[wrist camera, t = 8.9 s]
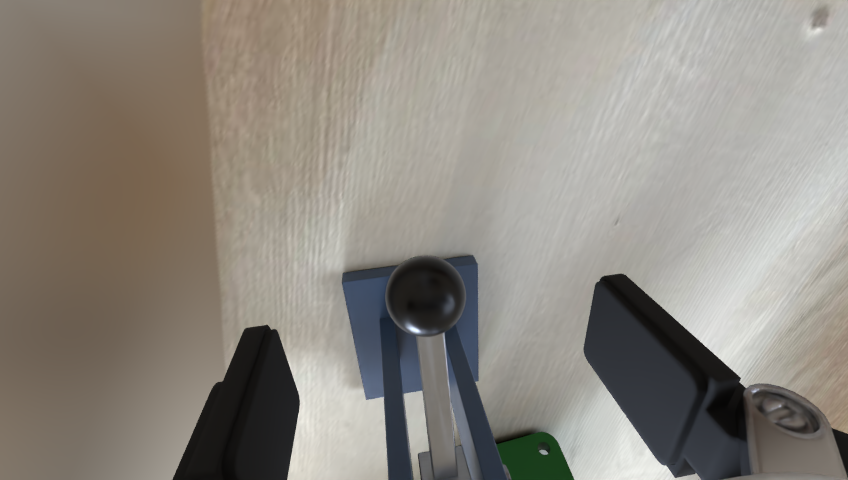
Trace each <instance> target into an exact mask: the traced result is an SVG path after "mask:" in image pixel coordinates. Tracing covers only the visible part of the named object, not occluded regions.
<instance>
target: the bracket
mask: <svg viewBox="0 0 848 480" xmlns="http://www.w3.org/2000/svg"><path fill="white" fill-rule="evenodd" d="M443 260H445V261H447V262H448V263H450V264H451V265H452V266H453V267H454V268H455V269H456V270H457V271H458V273H459V274H460V276H461V278H462V280H463V282H464V286H465V291H466V302H465V307H464V310H463V313H462V315H461V317H460V318H459V320H458V321H457V322H456V324H455V325H454V326H453V327H452V328H450V329H449V330H448V331H446V332H444V335H445V345H446V355H447V366H448V376H449V387H450V397H451V404H452V408H453V412H454V416H455V420H456V424H457V428H458V432H459V436H460V440H461V444H462V447H463V451H464V454H465V458H466V461H467V465H468V468H469V472H470V475H471V479H472V480H511V477H510V474H509V471H508V469H507V467H506V465H504V464H502V461H501V458H500V455H499V452H498V449H497V446H496V443H495V440H494V437H493V434H492V431H491V428H490V425H489V422H488V419H487V416H486V413H485V410H484V407H483V404H482V401H481V398H480V395H479V392H478V389H477V386H476V383H475V382H476V381H478V264H477V262H476V260H475V258H474V256H473V255H472V256H465V257H457V258H450V259H443ZM398 266H399V265H398ZM398 266H391V267H383V268H376V269H368V270H361V271H354V272H346V273H343V277H342V285H343V290H344V295H345V300H346V305H347V309H348V314H349V319H350V324H351V329H352V334H353V339H354V343H355V348H356V353H357V358H358V363H359V368H360V373H361V377H362V382H363V387H364V392H365V397H366V400H368V399H374V398H380V397H384V409H385V427H386V444H387V462H388V480H413V471H412V462H411V453H410V445H409V436H408V427H407V419H406V410H405V401H404V393H410V392H416V391H422V383H421V374H420V366H419V357H418V349H417V340H416V336H415V335H411V334H409V333H407V332H405V331H404V330H402V329H401V328H400V327H398V326H397V324H396V323H395V322H394V321H393V320H392V318H391V316H390V314H389V312H388V310H387V306H386V301H385V293H386V286H387V283H388V280H389V278H390V276H391V275H392V273H393V272H394V270H395V269H396V268H397V267H398Z"/></svg>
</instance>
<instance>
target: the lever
mask: <svg viewBox="0 0 848 480" xmlns="http://www.w3.org/2000/svg"><path fill="white" fill-rule="evenodd" d="M385 301H386V306H387V310H388V312H389V314H390V316H391V318H392V320H393V321H394V322H395V323H396V324H397V326H398V327H400V328H401V329H402V330H404V331H405V332H407V333H409V334H411V335H415V336H416V340H417V349H418V357H419V366H420V374H421V383H422V391H423V400H424V408H425V417H426V425H427V433H428V442H429V450H430V451H428V452H423V453H418V459H419V467H420V475H421V480H472V479H471V475H470V472H469V468H468V465H467V461H466V458H465V454H464V451H463V447H462V446H455V439H454V428H453V418H452V407H451V397H450V387H449V376H448V366H447V355H446V345H445V335H444V332H446V331H448V330H449V329H450V328H452V327H453V326H454V325H455V324H456V322H457V321H458V320H459V318H460V317H461V315H462V313H463V310H464V307H465V302H466V291H465V286H464V282H463V280H462V278H461V276H460V274H459V273H458V271H457V270H456V269H455V268H454V267H453V266H452V265H451V264H450V263H448V262H447V261H445V260H443V259H441V258H438V257H434V256H417V257H413V258H410V259H408V260H406V261H405V262H403V263H402V264H400V265H399V266H398V267H397V268H396V269H395V270H394V272H393V273H392V275H391V276H390V278H389V280H388V283H387V286H386V293H385Z"/></svg>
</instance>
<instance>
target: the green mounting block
mask: <svg viewBox="0 0 848 480" xmlns="http://www.w3.org/2000/svg"><path fill="white" fill-rule="evenodd" d="M496 446H497V449H498V452H499V455H500V458H501V461H502V464H504V465H506V467H507V469H508V471H509V474H510V477H511V480H574V478H573V476H572V473H571V471H570V469H569V467H568V464H567V462H566V460H565V457H564V455H563V453H562V451H561V448H560V446H559V444H558V442H557V440H556V439H555V438H554V437H553V436H552V435H550V434H548V433H545V432H538V433H535V434H531V435H528V436H524V437H521V438H517V439H514V440H510V441H507V442H503V443H500V444H497V445H496ZM539 450H546V451H547V452H548V454H547V455H543V454H541V453H540V452H539Z"/></svg>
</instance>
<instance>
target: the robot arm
mask: <svg viewBox="0 0 848 480" xmlns="http://www.w3.org/2000/svg"><path fill="white" fill-rule="evenodd" d="M584 354H585V357H586V359H587V361H588V362H589V364H590V365H591V366H592V368H593V369H594V371H595V372H596V374H597V375H598V376H599V378H600V379H601V381H602V382H603V384H604V385H605V386H606V388H607V389H608V391H609V392H610V394H611V395H612V396H613V398H614V399H615V401H616V402H617V403H618V405H619V406H620V408H621V409H622V411H623V412H624V413H625V415H626V416H627V418H628V419H629V421H630V422H631V423H632V425H633V426H634V428H635V429H636V431H637V432H638V433H639V435H640V436H641V438H642V439H643V441H644V442H645V443H646V445H647V446H648V448H649V449H650V451H651V452H652V453H653V455H654V456H655V458H656V459H657V460H658V461H659V462H660V463H661V464H662V465H666V466H667V467H668V468H669V470H670V471H671V473H672V474H673V475H674V477H675V478H677V477H682V476H687V475H692V474H695V473H697V474H698V476H699V477H700V478H701V480H848V434H846V433H844V432H841V431H838V430H836V429H833V428H831V426H830V423H829V422H828V420H827V418H826V416H825V415H824V414H823V413H822V412H821V411H820V410H819V409H818V408H817V406H815V405H814V404H812V403H811V402H810V401H808V400H807V399H806V398H804V397H802V396H800V395H799V394H797V393H795V392H793V391H790V390H788V389H785V388H783V387H780V386H776V385H771V384H754V385H750V386H749V387H748V388H745V387H744V386H743V385H742V384H741V383H740V382H739V381H740V379H741V378H740V377H739V376H738V375H737V374H736V373H735V372H733V371H732V370H731V369H730V368H729V367H728V366H727V365H726V364H724V363H723V362H722V361H721V360H720V359H719V358H718V357H717V356H715V355H714V354H713V353H712V352H711V351H710V350H709V349H708V348H707V347H705V346H704V345H703V344H702V343H701V342H700V341H699V340H698V339H696V338H695V337H694V336H693V335H692V334H691V333H690V332H689V331H687V330H686V329H685V328H684V327H683V326H682V325H681V324H680V323H679V322H677V321H676V320H675V319H674V318H673V317H672V316H671V315H670V314H668V313H667V312H666V311H665V310H664V309H663V308H662V307H661V306H660V305H658V304H657V303H656V302H655V301H654V300H653V299H652V298H651V297H649V296H648V295H647V294H646V293H645V292H644V291H643V290H642V289H640V288H639V287H638V286H637V285H636V284H635V283H634V282H633V281H632V280H630V279H629V278H628V277H627V276H626V275H624V274H615V275H608V276H603V277H602V278H601V279H600V281H599V282H597V283H596V285H595V289H594V294H593V300H592V305H591V310H590V316H589V321H588V327H587V332H586V338H585V343H584ZM299 406H300V400H299V394H298V391H297V388H296V385H295V382H294V379H293V376H292V373H291V370H290V367H289V364H288V361H287V358H286V355H285V352H284V349H283V346H282V343H281V340H280V337H279V334H278V332H277V330H276V329H273V330H271V329H270V327H269V326H268V325H264V326H257V327H250V328H246V329H245V330H244V331H243V334H242V336H241V338H240V341H239V343H238V346H237V348H236V351H235V353H234V356H233V358H232V360H231V363H230V365H229V368H228V370H227V373H226V375H225V378H224V380H223V381H222V382H218V383H216V384H215V385H214V386H213V388H212V390H211V392H210V394H209V397H208V399H207V401H206V403H205V406H204V408H203V410H202V413H201V415H200V417H199V420H198V422H197V424H196V427H195V429H194V431H193V434H192V436H191V438H190V441H189V443H188V445H187V447H186V450H185V452H184V454H183V457H182V459H181V461H180V464H179V466H178V468H177V470H176V473H175V475H174V477H173V480H287V477H288V471H289V465H290V459H291V453H292V448H293V442H294V436H295V430H296V424H297V418H298V413H299Z"/></svg>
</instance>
